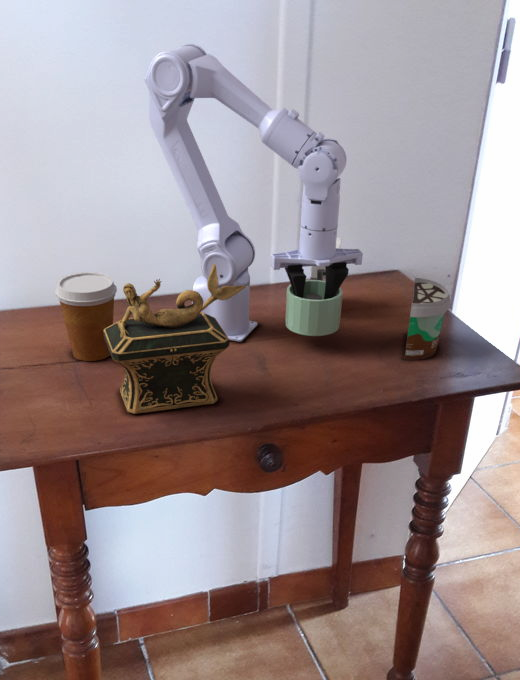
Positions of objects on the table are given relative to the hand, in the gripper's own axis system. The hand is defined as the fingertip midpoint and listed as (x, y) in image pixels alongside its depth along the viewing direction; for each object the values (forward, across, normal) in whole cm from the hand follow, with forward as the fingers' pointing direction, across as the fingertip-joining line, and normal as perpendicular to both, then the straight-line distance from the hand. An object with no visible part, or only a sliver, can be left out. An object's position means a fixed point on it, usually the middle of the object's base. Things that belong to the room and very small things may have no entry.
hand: (313, 308), depth 140 cm
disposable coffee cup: (+7, -36, +3) cm, 37 cm away
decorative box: (+6, -24, -14) cm, 29 cm away
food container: (+6, +18, -6) cm, 20 cm away
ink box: (+6, +6, +14) cm, 17 cm away
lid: (+2, 0, 0) cm, 2 cm away
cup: (+3, 0, 0) cm, 3 cm away
